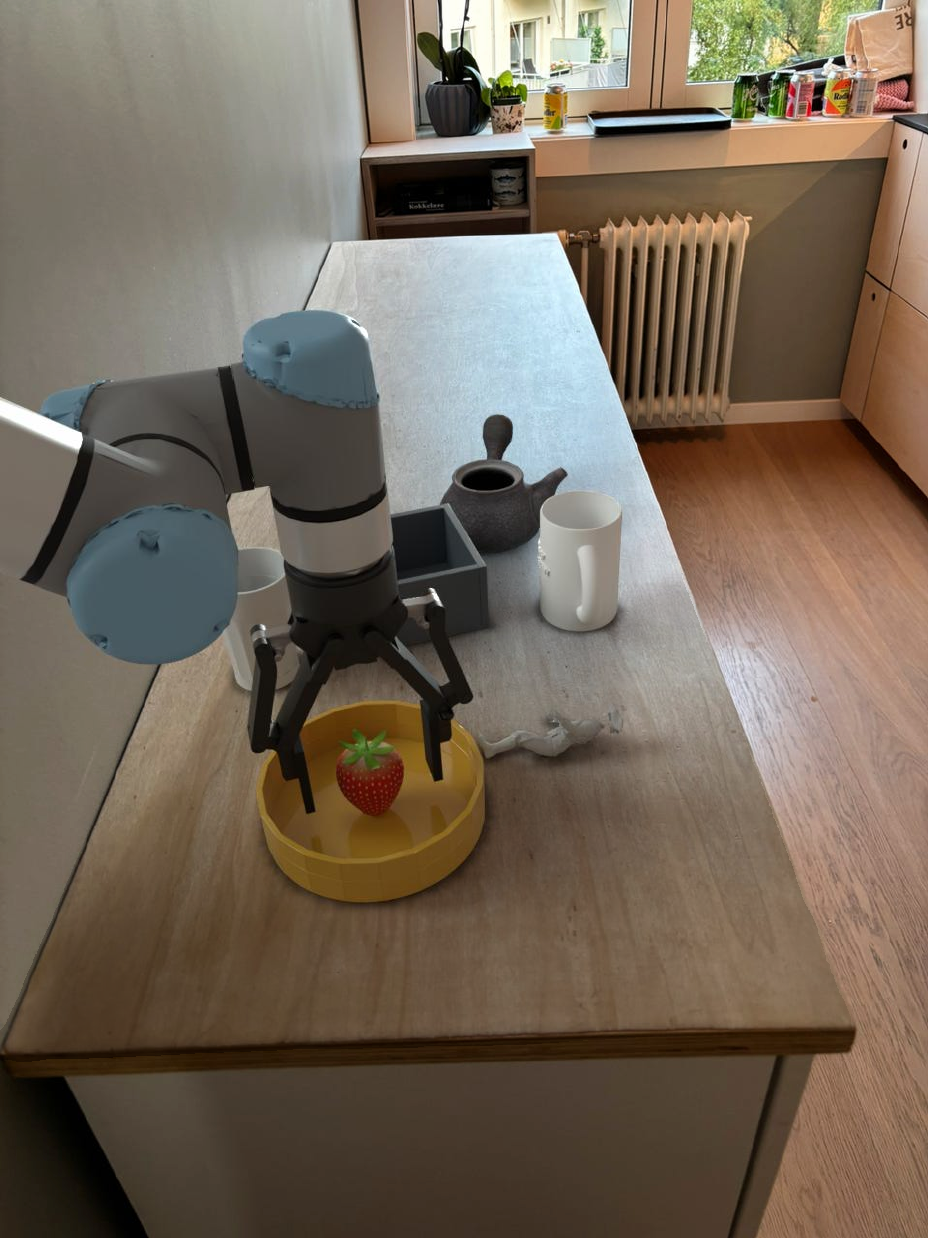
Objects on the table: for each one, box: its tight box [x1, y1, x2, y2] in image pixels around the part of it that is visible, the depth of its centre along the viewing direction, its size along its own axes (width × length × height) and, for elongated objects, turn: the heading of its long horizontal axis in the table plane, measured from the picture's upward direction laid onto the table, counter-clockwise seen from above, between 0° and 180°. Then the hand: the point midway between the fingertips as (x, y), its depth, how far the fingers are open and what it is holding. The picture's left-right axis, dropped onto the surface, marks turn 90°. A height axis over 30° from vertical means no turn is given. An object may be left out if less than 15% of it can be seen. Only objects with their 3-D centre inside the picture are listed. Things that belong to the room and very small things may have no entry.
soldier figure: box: [477, 702, 624, 760], centre depth 85 cm, size 8×5×12 cm
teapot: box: [439, 413, 569, 553], centre depth 116 cm, size 19×15×10 cm
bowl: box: [255, 699, 486, 903], centre depth 80 cm, size 18×18×4 cm
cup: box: [221, 546, 300, 692], centre depth 93 cm, size 8×8×12 cm
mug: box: [537, 489, 623, 632], centre depth 98 cm, size 8×12×12 cm
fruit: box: [336, 729, 404, 816], centre depth 78 cm, size 5×5×8 cm
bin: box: [390, 504, 490, 647], centre depth 103 cm, size 14×14×8 cm
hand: (372, 785), depth 79 cm, fingers open, 10 cm apart
